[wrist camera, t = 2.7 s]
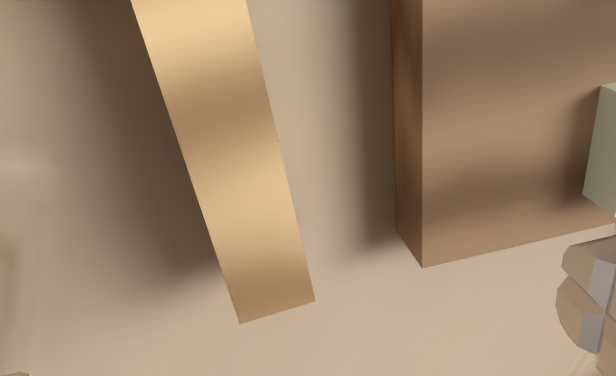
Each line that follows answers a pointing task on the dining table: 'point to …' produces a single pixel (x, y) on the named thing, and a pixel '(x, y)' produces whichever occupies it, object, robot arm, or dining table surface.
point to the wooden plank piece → (229, 147)
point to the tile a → (603, 153)
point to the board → (496, 120)
